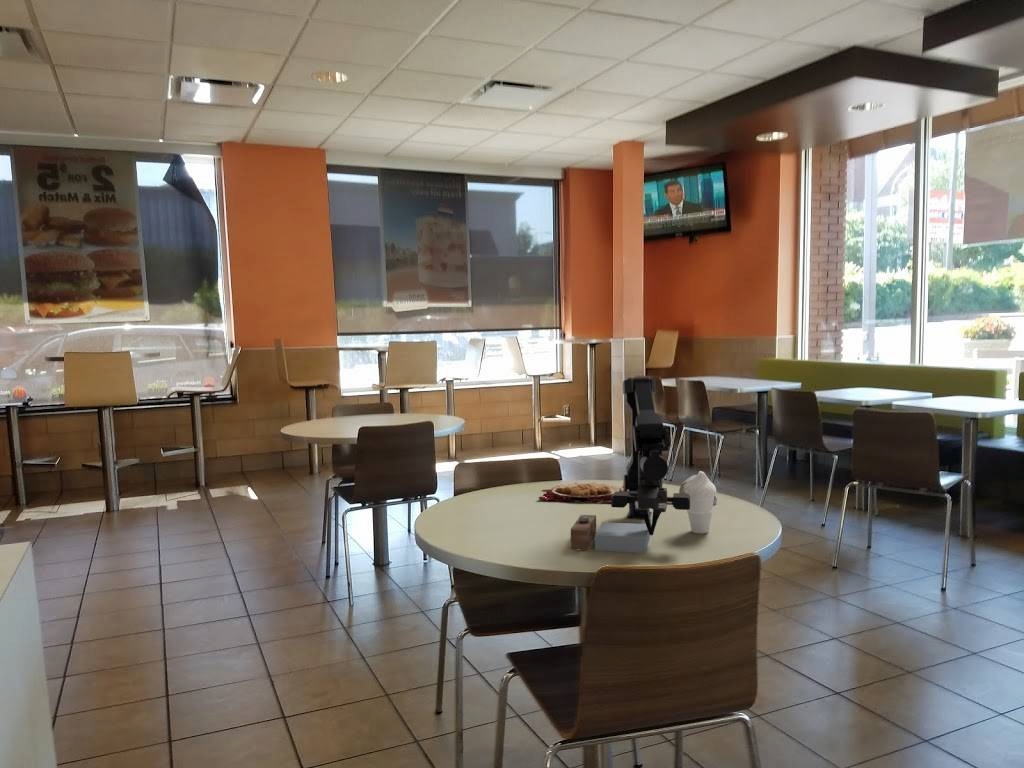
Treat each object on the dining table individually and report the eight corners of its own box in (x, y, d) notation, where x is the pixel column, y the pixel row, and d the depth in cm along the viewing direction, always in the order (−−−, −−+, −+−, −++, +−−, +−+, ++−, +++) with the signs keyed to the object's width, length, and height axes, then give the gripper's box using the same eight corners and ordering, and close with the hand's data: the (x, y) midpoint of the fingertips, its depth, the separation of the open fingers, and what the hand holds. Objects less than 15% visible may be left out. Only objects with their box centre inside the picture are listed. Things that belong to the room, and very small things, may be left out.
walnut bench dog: (581, 533, 190) (580, 510, 190) (596, 534, 189) (596, 510, 189) (571, 549, 177) (570, 524, 176) (587, 550, 176) (586, 525, 175)
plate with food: (620, 507, 220) (620, 495, 220) (538, 501, 227) (538, 491, 227) (630, 491, 243) (630, 480, 243) (555, 486, 250) (555, 476, 250)
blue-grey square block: (602, 537, 187) (602, 522, 187) (649, 539, 184) (649, 524, 184) (595, 551, 176) (594, 535, 175) (645, 554, 172) (645, 537, 172)
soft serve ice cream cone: (677, 529, 191) (676, 469, 190) (704, 525, 194) (703, 466, 193) (696, 537, 183) (695, 475, 182) (723, 533, 186) (723, 471, 185)
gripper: (607, 478, 172) (608, 542, 173) (688, 479, 167) (689, 546, 168) (613, 468, 182) (615, 529, 184) (690, 470, 177) (690, 533, 179)
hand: (651, 534), depth 178 cm, fingers closed
